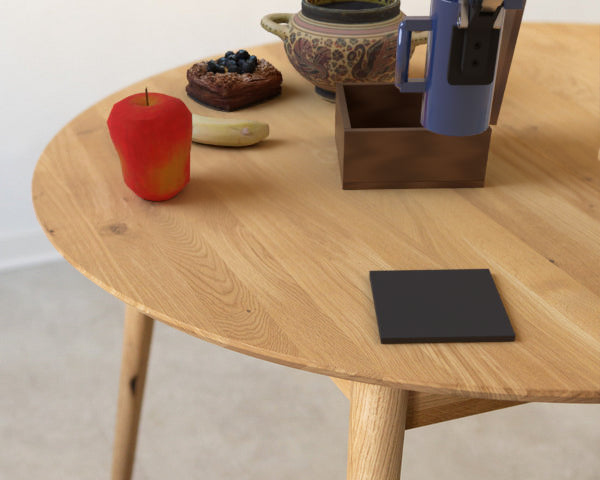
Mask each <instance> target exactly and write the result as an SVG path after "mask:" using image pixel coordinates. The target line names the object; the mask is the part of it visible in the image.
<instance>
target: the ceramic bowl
mask: <svg viewBox="0 0 600 480" xmlns="http://www.w3.org/2000/svg"><path fill="white" fill-rule="evenodd" d="M401 3H402V1H401V0H301V3H300V4H301V9H300V10H299V11H298V12H297V13H293V12H292V13H291V12H273V13H268V14H265V15H264V16H263V17H262V18H261V19H260V23H259V24H260V26H261V28H262V29H264V30H265V31H266V32H267V33H270V34H273V35H274V36H277V38H279V39H280V40H281V41H282V42H283V48H284V53H285V54H286V57H287V59H288V61H289V63H290V64H291V66H292V67H293V69H295V71H296V73H298V74H299V75H300V76H301V77H302V78H303V79H305V80H306V81H308V82H309V83H311V84H312V85H314V92H315V94H316V95H317V96H318V97H319V98H321V99H322V100H325V101H327V102H331V103H336V83H345V82H390V81H391V80H393V79H395V67H396V52H397V37H398V25H399V23H400V22H401V21H403V19H404V16H408V15H407V14H405V12H403V11H402V10H401V6H402V5H401ZM427 39H428V31H412V38H411V51H410V60H411V59H412V58H413V55H414V53H415V50H416V47H419V46H422V45H423V46H424V45H427Z"/></svg>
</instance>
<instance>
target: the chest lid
mask: <svg viewBox="0 0 600 480" xmlns="http://www.w3.org/2000/svg"><path fill="white" fill-rule="evenodd" d="M526 5H527V0H524V5H523V9H518V10H505V17H504V24H503V31H502V38H501V45H500V52H499V59H498V66H497V73H496V80H495V87H494V94H493V101H492V107H491V114H490V121H489V125H490V126H497V124H498V121H499V117H500V112H501V108H502V104H503V101H504V96H505V93H506V88H507V83H508V79H509V74H510V71H511V67H512V63H513V58H514V53H515V51H516V47H517V43H518V37H519V33H520V29H521V25H522V21H523V16H524V12H525V10H526Z"/></svg>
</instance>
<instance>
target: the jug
mask: <svg viewBox="0 0 600 480" xmlns="http://www.w3.org/2000/svg"><path fill="white" fill-rule="evenodd" d="M471 1H472V0H470V3H471ZM503 1H505V2H504V7H503V15H502V24H501V30H500V37H499V44H498V51H497V58H496V65H495V72H494V79H493V82H492V83H491V84H489V85H450V84H449V83H448V81H447V69H448V59H449V50H450V40H451V31H452V25H457V18H458V0H430V6H429V15H407V16H404V19H403V21H401V22H400V23H399V25H398V37H397V52H396V67H395V77H394V82H395V86H396V87H397V88H398V89H399V90H400V92H401V93H410V92H423V94H422V106H421V117H420V122H421V125H422V126H423V127H424V128H426V129H427V130H429V131H431V132H434V133H437V134H441V135H447V136H471V135H476V134H480V133H482V132H484V131H485V130H487V128H488V127H489V121H490V114H491V107H492V101H493V94H494V87H495V80H496V73H497V66H498V59H499V52H500V45H501V38H502V31H503V24H504V17H505V10H518V9H523V5H524V0H503ZM412 31H428V39H427V44H426V51H425V63H424V73H423V75H424V76H423V77H409V75H410V65H411V64H410V62H411V59H410V51H411V38H412Z"/></svg>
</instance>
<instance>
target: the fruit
mask: <svg viewBox="0 0 600 480" xmlns="http://www.w3.org/2000/svg"><path fill="white" fill-rule="evenodd" d="M191 113H192V125H193V132H192V142H195V143H199V144H204V145H213V146H221V147H246V146H250V145H254V144H257V143H258V142H260V141H262V140H265V139H266V138H268V137H269V135H270V125H269V123H266V122H265V121H264V122H263V121H259V120H254V119H247V118H217V117H212V116H205V115H201V114H196V113H193V112H191Z"/></svg>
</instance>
